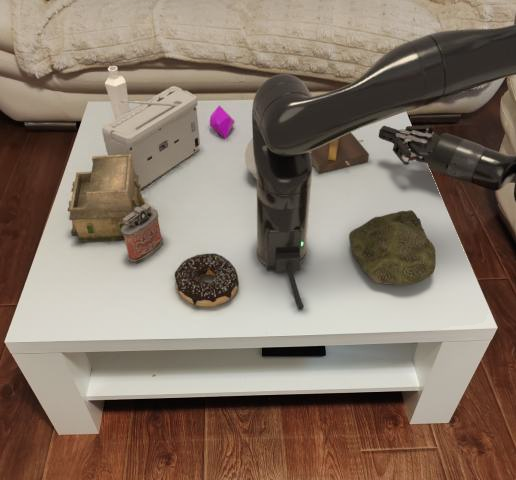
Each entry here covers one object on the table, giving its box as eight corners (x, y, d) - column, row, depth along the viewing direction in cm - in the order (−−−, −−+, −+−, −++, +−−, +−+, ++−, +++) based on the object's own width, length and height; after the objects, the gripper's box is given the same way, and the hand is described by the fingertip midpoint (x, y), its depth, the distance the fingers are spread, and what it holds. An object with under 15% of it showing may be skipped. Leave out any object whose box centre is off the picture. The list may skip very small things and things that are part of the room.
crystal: (207, 131, 133) (205, 113, 130) (221, 121, 136) (220, 103, 132) (224, 139, 131) (222, 121, 128) (238, 129, 134) (238, 111, 130)
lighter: (155, 236, 112) (146, 195, 104) (167, 243, 110) (159, 202, 102) (124, 258, 108) (113, 217, 100) (137, 266, 107) (126, 225, 99)
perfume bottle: (113, 128, 134) (99, 65, 122) (131, 124, 136) (118, 61, 124) (119, 138, 132) (104, 75, 120) (137, 134, 133) (124, 71, 121)
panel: (317, 180, 122) (318, 172, 120) (292, 144, 130) (292, 136, 128) (376, 166, 125) (378, 157, 123) (348, 132, 133) (349, 123, 131)
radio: (179, 137, 132) (168, 50, 116) (205, 150, 129) (197, 62, 113) (112, 180, 122) (89, 92, 106) (138, 196, 119) (119, 107, 103)
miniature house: (150, 194, 120) (141, 146, 110) (147, 239, 111) (137, 192, 102) (78, 198, 119) (63, 150, 110) (70, 244, 110) (53, 196, 101)
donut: (209, 255, 108) (208, 240, 105) (252, 288, 103) (251, 272, 100) (164, 285, 104) (161, 270, 101) (206, 321, 99) (204, 305, 95)
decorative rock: (353, 299, 103) (355, 263, 95) (347, 236, 112) (348, 198, 104) (437, 295, 102) (446, 257, 94) (424, 231, 111) (431, 191, 102)
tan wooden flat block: (335, 160, 123) (339, 130, 117) (328, 159, 123) (331, 129, 117) (340, 134, 129) (344, 105, 123) (333, 134, 129) (337, 104, 123)
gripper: (475, 125, 114) (397, 100, 120) (449, 158, 108) (368, 130, 114) (465, 158, 120) (391, 132, 126) (440, 190, 114) (363, 162, 120)
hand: (380, 131), depth 120 cm, fingers closed
